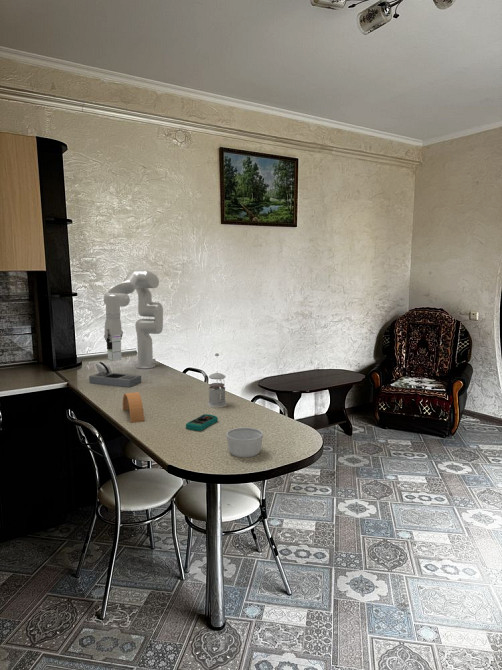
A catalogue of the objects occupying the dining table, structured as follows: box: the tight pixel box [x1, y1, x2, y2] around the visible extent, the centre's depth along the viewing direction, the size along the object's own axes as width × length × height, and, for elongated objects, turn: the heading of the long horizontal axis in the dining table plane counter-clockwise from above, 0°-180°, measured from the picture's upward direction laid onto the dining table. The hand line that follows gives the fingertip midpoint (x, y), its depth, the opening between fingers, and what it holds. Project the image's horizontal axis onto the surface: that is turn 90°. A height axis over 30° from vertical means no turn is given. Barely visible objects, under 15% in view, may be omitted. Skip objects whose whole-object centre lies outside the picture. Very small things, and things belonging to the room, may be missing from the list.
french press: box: [206, 353, 228, 408], centre depth 225 cm, size 10×12×25 cm
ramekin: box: [225, 426, 264, 458], centre depth 168 cm, size 13×13×7 cm
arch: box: [122, 391, 145, 423], centre depth 208 cm, size 6×20×10 cm, turn 24°
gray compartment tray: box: [88, 372, 142, 388], centre depth 264 cm, size 12×26×4 cm, turn 71°
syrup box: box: [106, 334, 122, 362], centre depth 262 cm, size 6×6×14 cm
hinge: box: [95, 360, 113, 373], centre depth 280 cm, size 17×5×10 cm, turn 35°
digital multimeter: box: [185, 413, 218, 432], centre depth 196 cm, size 7×15×3 cm, turn 155°
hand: (114, 347), depth 262 cm, fingers closed on syrup box, 7 cm apart
